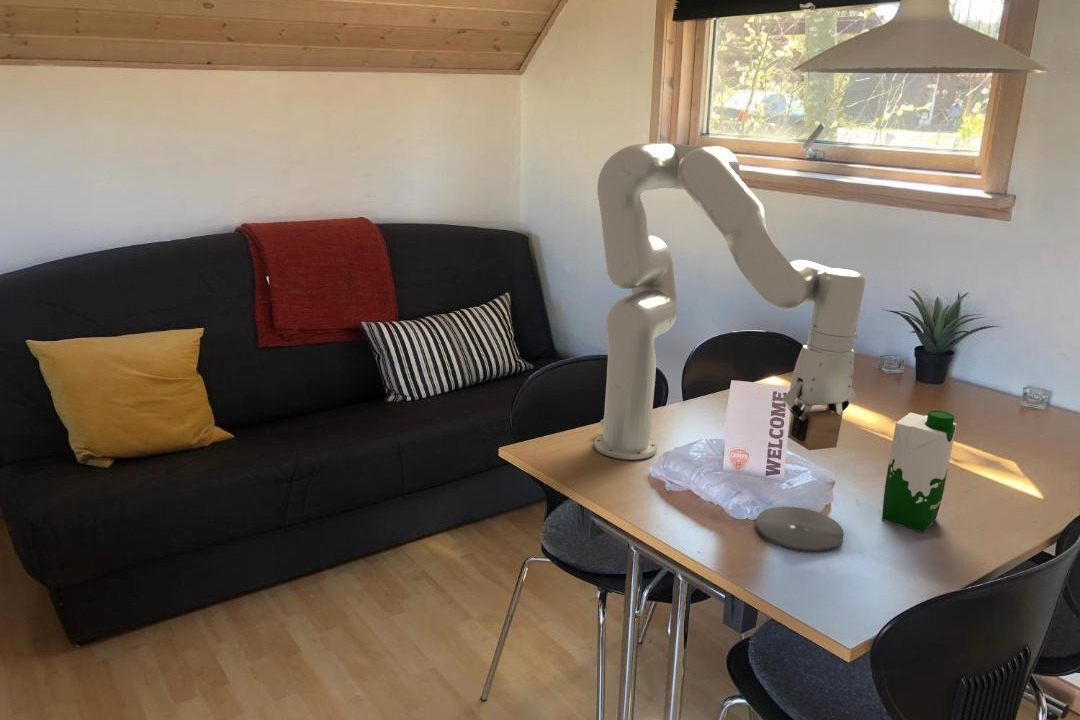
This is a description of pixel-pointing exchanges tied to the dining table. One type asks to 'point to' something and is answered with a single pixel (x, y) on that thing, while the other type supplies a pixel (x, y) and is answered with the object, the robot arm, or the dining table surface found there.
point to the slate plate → (799, 529)
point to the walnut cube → (819, 428)
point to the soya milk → (918, 469)
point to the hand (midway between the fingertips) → (812, 435)
